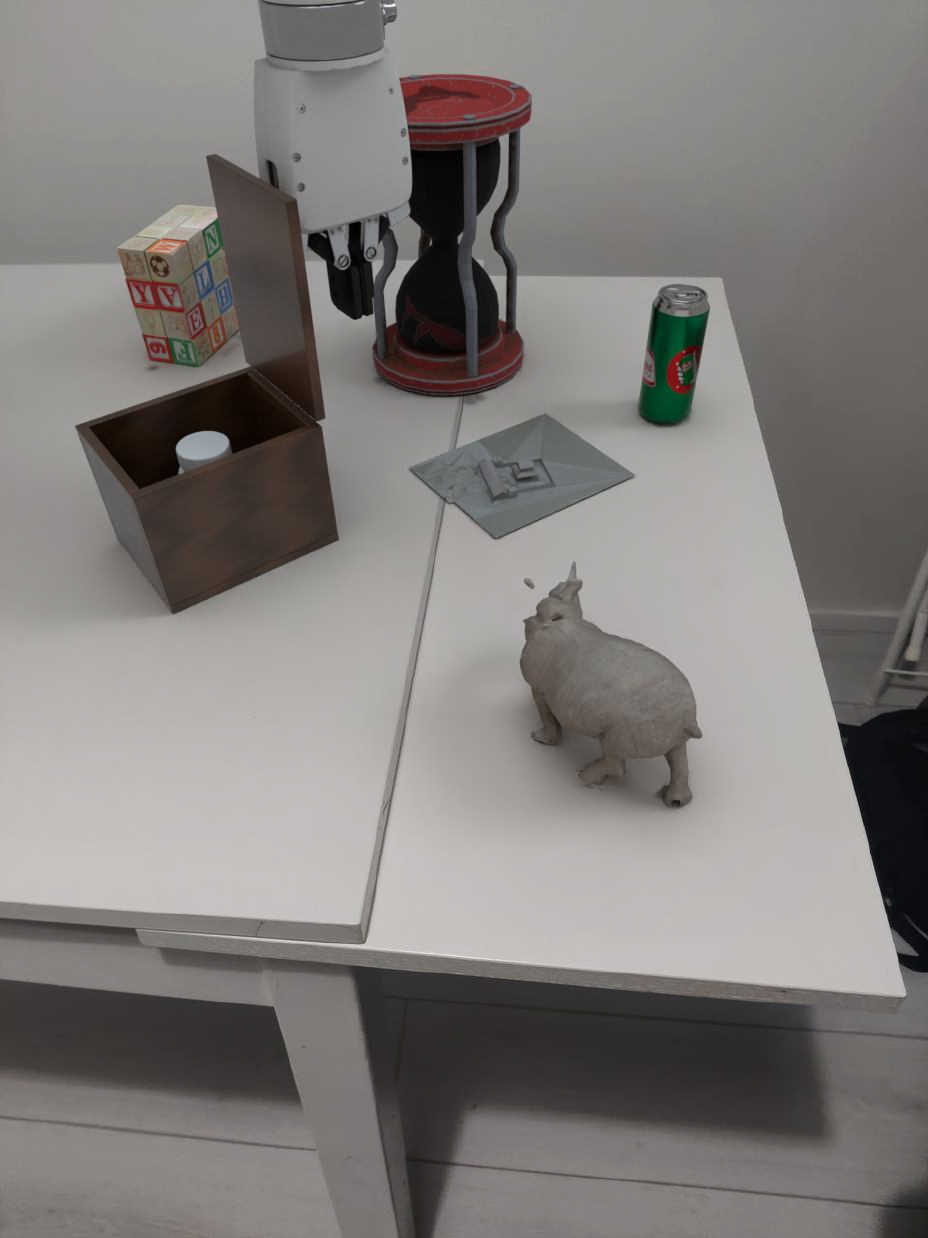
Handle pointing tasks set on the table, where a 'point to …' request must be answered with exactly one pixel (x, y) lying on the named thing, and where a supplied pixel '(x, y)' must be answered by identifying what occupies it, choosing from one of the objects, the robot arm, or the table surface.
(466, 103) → the hourglass
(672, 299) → the soda can
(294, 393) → the lid
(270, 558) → the chest
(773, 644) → the table surface
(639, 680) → the rhinoceros figurine
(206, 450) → the pill bottle
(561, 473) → the grey flat relief plate
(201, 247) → the stack of blocks
